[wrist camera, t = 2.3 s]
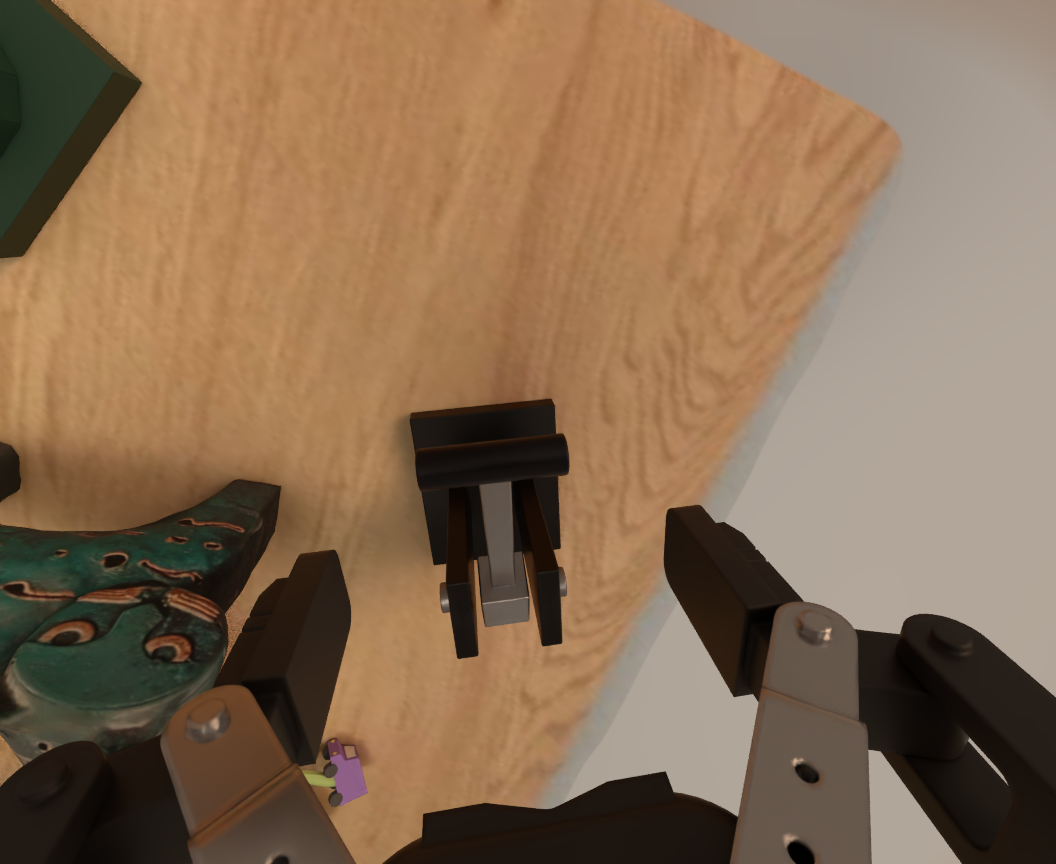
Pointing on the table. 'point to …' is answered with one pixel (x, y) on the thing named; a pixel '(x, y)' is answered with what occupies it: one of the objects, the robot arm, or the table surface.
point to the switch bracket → (462, 523)
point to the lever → (496, 507)
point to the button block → (49, 112)
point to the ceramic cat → (119, 617)
